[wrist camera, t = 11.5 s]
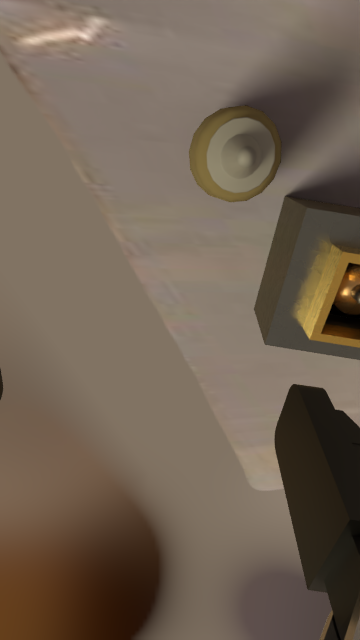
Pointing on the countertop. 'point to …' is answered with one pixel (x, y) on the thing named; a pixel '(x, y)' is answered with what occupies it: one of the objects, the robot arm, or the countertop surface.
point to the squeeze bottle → (235, 153)
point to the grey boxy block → (309, 279)
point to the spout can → (349, 291)
